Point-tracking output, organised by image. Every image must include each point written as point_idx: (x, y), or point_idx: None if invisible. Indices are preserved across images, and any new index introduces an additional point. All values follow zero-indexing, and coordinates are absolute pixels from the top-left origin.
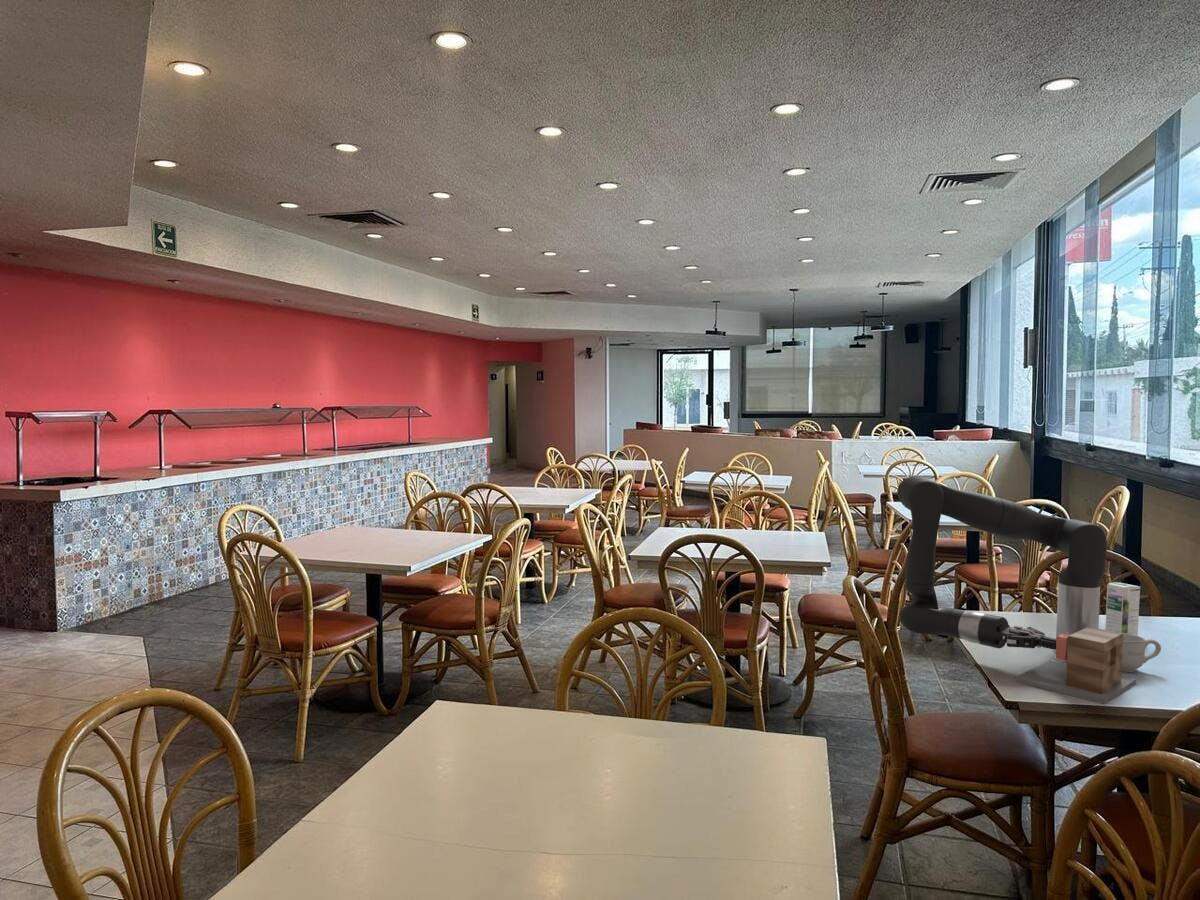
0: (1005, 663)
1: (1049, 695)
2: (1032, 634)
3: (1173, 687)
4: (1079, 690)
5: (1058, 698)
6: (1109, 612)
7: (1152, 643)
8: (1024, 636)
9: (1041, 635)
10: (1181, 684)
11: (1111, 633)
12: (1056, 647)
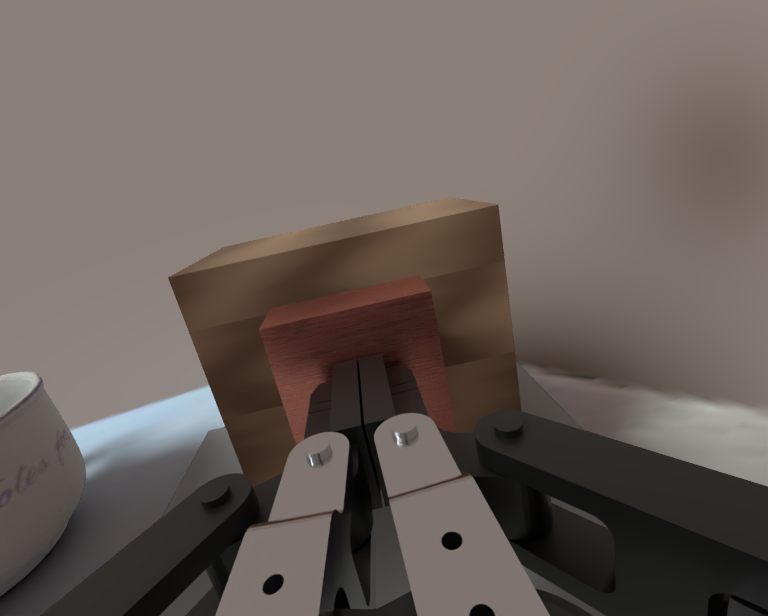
0: None
1: (682, 455)
2: (345, 527)
3: (188, 407)
4: (523, 411)
5: (658, 426)
6: None
7: None
8: (600, 473)
9: (332, 445)
10: (143, 414)
11: (259, 242)
12: (443, 368)
